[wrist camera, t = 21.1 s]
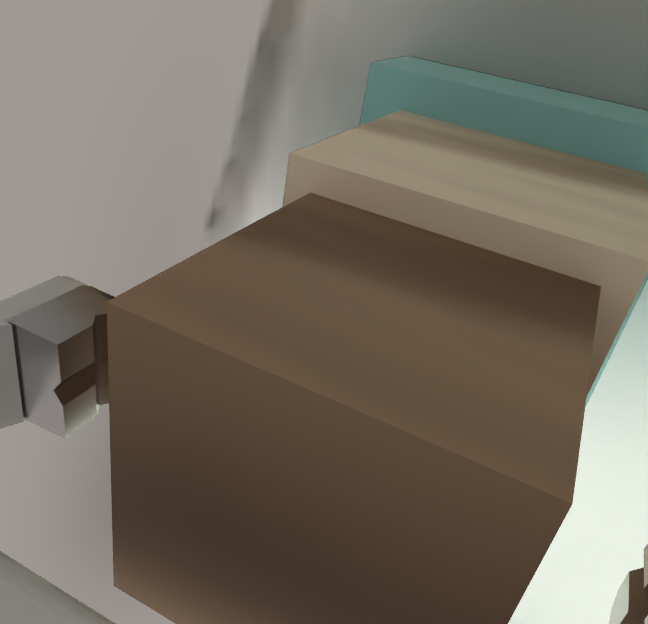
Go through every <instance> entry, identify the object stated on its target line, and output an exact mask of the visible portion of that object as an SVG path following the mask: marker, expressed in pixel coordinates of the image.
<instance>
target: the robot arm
mask: <svg viewBox="0 0 648 624" xmlns="http://www.w3.org/2000/svg"><path fill="white" fill-rule="evenodd" d="M113 298H115V297H114V296H111V295H109V294H107V293H105V292H103V291H100V290H98V289H96V288H94V287H92V286H88V285H86V284H84V283H82V282H80V281H77V280H75V279H73V278H70V277H66V276H57V277H54V278H52V279H50V280H48V281H45V282H43V283H41V284H39V285H36V286H34V287H32V288H30V289H28V290H25V291H23V292H20V293H18V294H16V295H14V296H12V297H9V298H7V299H5V300H2V301H0V429H1V428H3V427H7V426H11V425H13V424H17V423H20V422H23V421H24V419H26V420H28V421H30V422H32V423H34V424H36V425H38V426H40V427H42V428H44V429H46V430H48V431H50V432H52V433H55V434H57V435H59V436H61V437H63V438H65V439H66V438H67V437H68V436H70V435H71V434H73V433H74V432H75V431H77V430H78V429H80V428H81V427H82V426H84V425H85V424H86V423H88V422H89V421H91V420H92V419H93V418H95V417H96V416H97V412H98V408H99V405H102V404H107V403H109V374H108V335H107V301H109V300H111V299H113ZM0 624H115V623H114V622H112V621H110V620H109V619H107V618H106V617H104V616H103V615H101V614H99V613H98V612H96V611H94V610H93V609H91V608H90V607H88V606H87V605H85V604H84V603H82V602H80V601H79V600H77V599H75V598H74V597H72V596H71V595H69V594H68V593H66V592H64V591H63V590H61V589H60V588H58V587H56V586H55V585H53V584H52V583H50V582H49V581H47V580H45V579H44V578H42V577H41V576H39V575H37V574H36V573H34V572H32V571H31V570H29V569H28V568H26V567H25V566H23V565H22V564H20V563H18V562H17V561H15V560H14V559H12V558H10V557H9V556H7V555H6V554H4V553H2V552H1V551H0ZM609 624H648V544H647V545H646V547H645V548H644V568H640V569H637V570H633V571H630V572H629V573H628V575H627V576H626V578H625V580H624V581H623V583H622V585H621V586H620V588H619V590H618V593H617V596H616V598H615V601H614V604H613V607H612V610H611V616H610V621H609Z"/></svg>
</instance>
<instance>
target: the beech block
mask: <svg viewBox="0 0 648 624" xmlns="http://www.w3.org/2000/svg"><path fill="white" fill-rule="evenodd" d="M308 193H313V194H317V195H320V196H323V197H326V198H329V199H332V200H335V201H338V202H341V203H344V204H348V205H351V206H354V207H357V208H360V209H363V210H366V211H369V212H372V213H375V214H378V215H382V216H385V217H388V218H391V219H394V220H397V221H400V222H403V223H406V224H409V225H413V226H416V227H419V228H422V229H425V230H428V231H431V232H434V233H437V234H440V235H444V236H447V237H450V238H453V239H456V240H459V241H462V242H465V243H468V244H471V245H474V246H478V247H481V248H484V249H487V250H490V251H493V252H496V253H499V254H502V255H505V256H509V257H512V258H515V259H518V260H521V261H524V262H527V263H530V264H533V265H536V266H540V267H543V268H546V269H549V270H552V271H555V272H558V273H561V274H564V275H567V276H570V277H574V278H577V279H580V280H583V281H586V282H589V283H592V284H595V285H598V286H601V290H600V298H599V305H598V313H597V320H596V328H595V335H594V343H593V351H592V358H591V366H590V373H589V381H588V388H587V395H588V393H589V391H590V389H591V387H592V385H593V383H594V381H595V379H596V377H597V375H598V373H599V371H600V369H601V367H602V364H603V362H604V360H605V358H606V356H607V354H608V352H609V350H610V348H611V346H612V344H613V342H614V340H615V338H616V336H617V334H618V332H619V329H620V327H621V325H622V323H623V321H624V319H625V317H626V315H627V313H628V311H629V309H630V307H631V305H632V303H633V301H634V299H635V296H636V294H637V292H638V290H639V288H640V286H641V284H642V282H643V280H644V278H645V276H646V274H647V272H648V187H647V174H646V173H642V172H639V171H635V170H631V169H627V168H623V167H619V166H615V165H611V164H608V163H604V162H600V161H596V160H592V159H588V158H584V157H580V156H577V155H573V154H569V153H565V152H561V151H557V150H553V149H549V148H546V147H542V146H538V145H534V144H530V143H526V142H522V141H518V140H515V139H511V138H507V137H503V136H499V135H495V134H491V133H487V132H484V131H480V130H476V129H472V128H468V127H464V126H460V125H456V124H453V123H449V122H445V121H441V120H437V119H433V118H429V117H425V116H422V115H418V114H414V113H410V112H406V111H402V110H399V111H396V112H393V113H391V114H388V115H386V116H383V117H381V118H378V119H376V120H373V121H370V122H368V123H365V124H363V125H360V126H358V127H355V128H353V129H350V130H348V131H345V132H342V133H340V134H337V135H335V136H332V137H330V138H327V139H325V140H322V141H319V142H317V143H314V144H312V145H309V146H307V147H304V148H302V149H299V150H297V151H294V152H291V153H289V161H288V169H287V176H286V184H285V192H284V199H283V207H284V206H286V205H288V204H290V203H292V202H293V201H295V200H297V199H299V198H301V197H303V196H305V195H306V194H308ZM586 397H587V396H586Z"/></svg>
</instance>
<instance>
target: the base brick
mask: <svg viewBox="0 0 648 624" xmlns="http://www.w3.org/2000/svg"><path fill="white" fill-rule="evenodd" d="M399 110H402V111H406V112H410V113H414V114H418V115H422V116H425V117H429V118H433V119H437V120H441V121H445V122H449V123H453V124H456V125H460V126H464V127H468V128H472V129H476V130H480V131H484V132H487V133H491V134H495V135H499V136H503V137H507V138H511V139H515V140H518V141H522V142H526V143H530V144H534V145H538V146H542V147H546V148H549V149H553V150H557V151H561V152H565V153H569V154H573V155H577V156H580V157H584V158H588V159H592V160H596V161H600V162H604V163H608V164H611V165H615V166H619V167H623V168H627V169H631V170H635V171H639V172H642V173H646V174H647V187H648V111H647V110H643V109H638V108H634V107H630V106H625V105H621V104H616V103H612V102H608V101H603V100H599V99H594V98H590V97H586V96H581V95H577V94H573V93H568V92H564V91H559V90H555V89H551V88H546V87H542V86H537V85H533V84H529V83H524V82H520V81H515V80H511V79H507V78H502V77H498V76H493V75H489V74H485V73H480V72H476V71H471V70H467V69H463V68H458V67H454V66H449V65H445V64H441V63H436V62H432V61H428V60H423V59H419V58H414V57H410V56H405V57H399V58H393V59H387V60H381V61H375V62H371V64H370V70H369V75H368V80H367V86H366V91H365V97H364V102H363V108H362V113H361V118H360V124H359V126H360V125H363V124H365V123H368V122H370V121H373V120H376V119H378V118H381V117H383V116H386V115H388V114H391V113H393V112H396V111H399ZM647 280H648V272H647V274H646V276H645V278H644V280H643V282H642V284H641V286H640V288H639V290H638V292H637V294H636V296H635V299H634V301H633V303H632V305H631V307H630V309H629V311H628V313H627V315H626V317H625V319H624V321H623V323H622V325H621V327H620V329H619V332H618V334H617V336H616V338H615V340H614V342H613V344H612V346H611V348H610V350H609V352H608V354H607V356H606V358H605V360H604V362H603V364H602V367H601V369H600V371H599V373H598V375H597V377H596V379H595V381H594V383H593V385H592V387H591V389H590V391H589V393H588V395H587V397H586V404H585V407H586V405H587V403H588V401H589V398H590V396H591V394H592V392H593V390H594V388H595V386H596V384H597V382H598V380H599V378H600V376H601V374H602V372H603V370H604V368H605V366H606V364H607V362H608V360H609V358H610V355H611V353H612V351H613V349H614V347H615V345H616V343H617V341H618V339H619V337H620V335H621V333H622V331H623V329H624V327H625V325H626V323H627V321H628V319H629V317H630V314H631V312H632V310H633V308H634V306H635V304H636V302H637V300H638V298H639V296H640V294H641V292H642V290H643V288H644V286H645V284H646V282H647Z"/></svg>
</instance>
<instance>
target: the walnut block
mask: <svg viewBox="0 0 648 624" xmlns="http://www.w3.org/2000/svg"><path fill="white" fill-rule="evenodd" d="M600 290H601V286H598V285H595V284H592V283H589V282H586V281H583V280H580V279H577V278H574V277H570V276H567V275H564V274H561V273H558V272H555V271H552V270H549V269H546V268H543V267H540V266H536V265H533V264H530V263H527V262H524V261H521V260H518V259H515V258H512V257H509V256H505V255H502V254H499V253H496V252H493V251H490V250H487V249H484V248H481V247H478V246H474V245H471V244H468V243H465V242H462V241H459V240H456V239H453V238H450V237H447V236H444V235H440V234H437V233H434V232H431V231H428V230H425V229H422V228H419V227H416V226H413V225H409V224H406V223H403V222H400V221H397V220H394V219H391V218H388V217H385V216H382V215H378V214H375V213H372V212H369V211H366V210H363V209H360V208H357V207H354V206H351V205H348V204H344V203H341V202H338V201H335V200H332V199H329V198H326V197H323V196H320V195H317V194H313V193H308V194H306V195H305V196H303V197H301V198H299V199H297V200H295V201H293V202H292V203H290V204H288V205H286V206H284V207H282V208H280V209H279V210H277V211H275V212H273V213H271V214H269V215H267V216H266V217H264V218H262V219H260V220H258V221H256V222H254V223H253V224H251V225H249V226H247V227H245V228H243V229H241V230H239V231H238V232H236V233H234V234H232V235H230V236H228V237H226V238H225V239H223V240H221V241H219V242H217V243H215V244H213V245H212V246H210V247H208V248H206V249H204V250H202V251H200V252H199V253H197V254H195V255H193V256H191V257H189V258H187V259H186V260H184V261H182V262H180V263H178V264H176V265H174V266H173V267H171V268H169V269H167V270H165V271H163V272H161V273H159V274H158V275H156V276H154V277H152V278H150V279H148V280H146V281H145V282H143V283H141V284H139V285H137V286H135V287H133V288H132V289H130V290H128V291H126V292H124V293H122V294H120V295H119V296H117V297H115V298H113V299H111V300H109V301H107V335H108V374H109V411H110V450H111V451H110V452H111V492H112V530H113V565H114V566H113V570H114V586H115V587H117V588H119V589H120V590H122V591H123V592H125V593H127V594H128V595H130V596H131V597H133V598H135V599H136V600H138V601H140V602H141V603H143V604H145V605H146V606H148V607H150V608H151V609H153V610H155V611H156V612H158V613H159V614H161V615H163V616H164V617H166V618H167V619H169V620H171V621H172V622H174V623H176V624H508V622H509V620H510V618H511V617H512V615H513V613H514V611H515V609H516V607H517V605H518V604H519V602H520V600H521V598H522V596H523V594H524V592H525V591H526V589H527V587H528V585H529V583H530V581H531V579H532V578H533V576H534V574H535V572H536V570H537V568H538V566H539V565H540V563H541V561H542V559H543V557H544V555H545V553H546V552H547V550H548V548H549V546H550V544H551V542H552V540H553V539H554V537H555V535H556V533H557V531H558V529H559V527H560V526H561V524H562V522H563V520H564V518H565V516H566V514H567V513H568V511H569V509H570V507H571V505H572V502H573V494H574V487H575V479H576V472H577V464H578V456H579V449H580V441H581V434H582V426H583V419H584V411H585V404H586V396H587V388H588V381H589V373H590V366H591V358H592V351H593V343H594V335H595V328H596V320H597V313H598V305H599V298H600Z"/></svg>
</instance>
